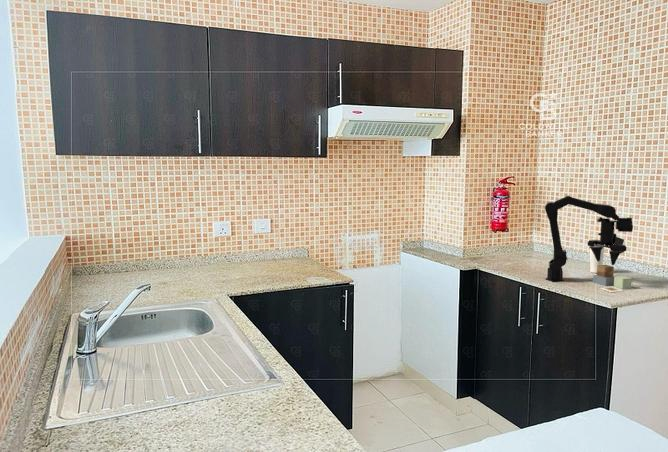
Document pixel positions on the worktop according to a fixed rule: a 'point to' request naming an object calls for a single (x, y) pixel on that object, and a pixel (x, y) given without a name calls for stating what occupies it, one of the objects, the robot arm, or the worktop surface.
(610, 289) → the card
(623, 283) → the sage block
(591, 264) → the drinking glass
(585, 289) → the worktop surface
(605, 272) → the walnut block
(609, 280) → the slate base block
